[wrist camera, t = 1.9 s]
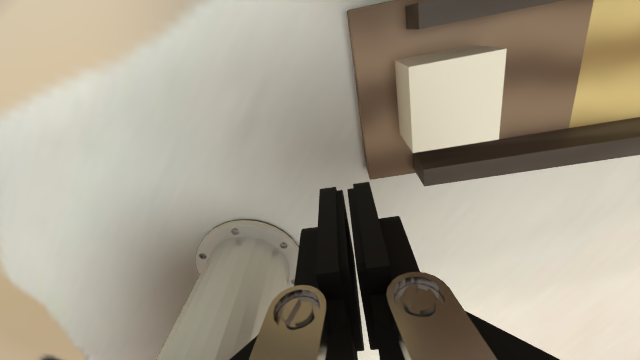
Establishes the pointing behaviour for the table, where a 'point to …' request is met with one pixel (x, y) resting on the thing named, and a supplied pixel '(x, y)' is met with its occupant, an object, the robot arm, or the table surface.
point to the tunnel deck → (507, 82)
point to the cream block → (450, 97)
